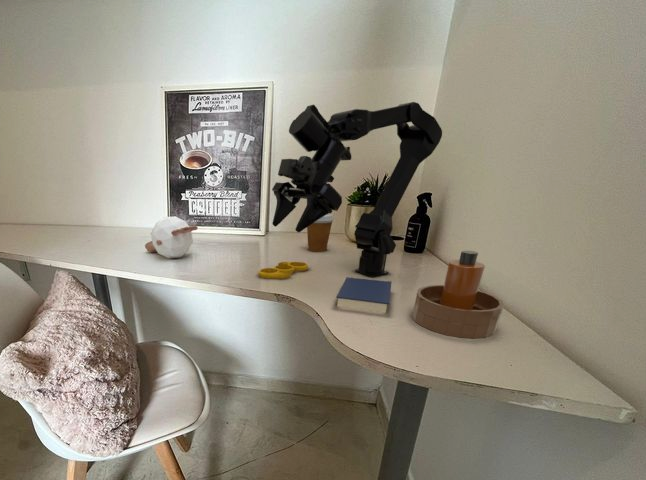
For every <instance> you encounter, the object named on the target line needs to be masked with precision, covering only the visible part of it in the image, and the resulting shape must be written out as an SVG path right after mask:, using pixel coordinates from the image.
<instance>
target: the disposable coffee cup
mask: <svg viewBox="0 0 646 480" xmlns="http://www.w3.org/2000/svg"><path fill="white" fill-rule="evenodd" d="M333 222H334V216H333V214H332V213H329V214H327V215H325V216H323V217H322V218H320V219H318V220H317V221H315V222H314V223H312V224H311V225H309V226H308V227H307V228H306V233H307V234H306V235H307V249H308V251H310V252H314V253H316V252H318V253H319V252H326V251H327V250H328V243H329V240H330V234H331V230H332V225H333Z"/></svg>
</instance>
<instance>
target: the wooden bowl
mask: <svg viewBox="0 0 646 480" xmlns="http://www.w3.org/2000/svg"><path fill="white" fill-rule="evenodd" d="M443 287H444V284H432V285H431V284H430V285H425V286H421V287H420V288H418V289H417V290H416V295H415V301H414V306H413V309H412V310H413V311H412V315H411V317H412V319H413V321H414V322H415V323H416V324H417V325H418V324H419V326H421V327H422V328H425V329H427V330H429V331H430V332H431V331H432V332H434V333H437V334H441V335H444V336H450V337H453V338H454V337H455V338H461V339H463V338H464V339H482V338H487V337H491V336H493V335H494V334H495V333H496V331H497V328H498V325H499V322H500V319H501V316H502V313H503V311H504V310H503V309H504V307H505V304H504V302H503V300H502V299H500V298H499V297H497V296H496V295H493V294H491V293H489V292H486V291H483V290H479V289H478V292H477V296H476V299H475V303H474V307H473V310H465V309H459V308H452V307H448V306H444V305H440V299H441V295H442V291H443Z"/></svg>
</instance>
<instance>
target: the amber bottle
mask: <svg viewBox="0 0 646 480" xmlns="http://www.w3.org/2000/svg"><path fill="white" fill-rule="evenodd" d="M478 256H479V252H478V251H474V250H462V251H460V257H459V259H453V260H449V262H448V266H447V270H446V274H445V279H444V282H443V285H444V287H443V291H442V295H441V299H440V305H444V306H448V307H452V308H459V309H465V310H473V307H474V303H475V299H476V296H477V292H478V290H479V288H480V285H481V281H482V279H483V275H484V271H485V267H486V266H485V264H484V263H483V262H482V263H481V262H479V261H477V259H478Z"/></svg>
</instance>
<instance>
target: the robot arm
mask: <svg viewBox="0 0 646 480" xmlns="http://www.w3.org/2000/svg"><path fill="white" fill-rule="evenodd" d="M408 123H411V124H412V125H409V124H408ZM395 125H396V135H397V137H398V138H399V140H400V143H399V159H398V161H397V163H396V165H395V167H394V169H393V171H392V173H391V175H390V177H389V178H388V181H387V182H386V184H385V186H384V188H383V190H382V192H381V194H380V196H379V198H378V200H377V202H376V204H375V206H374V208H373V209H372V210H371V211H370V212H363V213H362V214H361V215H360V217H359V219H358V222H357V224H356V225H355V226H354V228H355V230H354V233H353V234H354V239H355V245H356V249H359V250H361V253H360V257H359V263H358V268H355V269H354V271H355V272H356V273H360V274H362V275H365V276H368V277H371V278H373V277H378V276H384V275H388V274H389V273H390V271H388V270H386V263H387V256H388V255H391V254H393V253H394V252H395V249H396V247H397V243H396V242H395V241H394V239H393V238H392V236H391V234H392V231H393V216H394V214H395V212H396V210H397V208H398V206H399V204H400V202H401V200H402V198H403V196H404V195H405V194H406V193H405V192H406V191H407V188H408V186H409V185H410V183H411V181H412V179H413V177H414V175H415V173H416V171H417V169H418V167H419V166H420V164H421V163H423V161H425V160H426V159H427V158H428V157H430V156H431V155H432V154H433V153H434V151H435V149H436V148H437V147H438V145H439V144H440V142H441V140H442V137H443V130H442V127H441V126H440V124H439V122H438V121H437V119H436V118H435V117H434V116H433V115H431V114H430V113H429V112H428V111H425V110H424V109H423V108H422V106H421V104H420V103H419V102H416V101H411V102H406V103H401V104H398V105H396V106H392V107H387V108H382V109H377V110H368V109H360V108H355V109H350V110H345V111H340V112H336V113H334V114H332V115H330V117H329V120H328V121H327V120H326V119H325V117H324V116H323V115H322V114H321V113H320V111H319V109H318V108H317V106H316V104H310V105H307V106H306V108H305V109H304V110H303V111H302V112H300V113H299V114H298V115H297V117H296V118H295V119H293V120H292V121H291V123H290V125H289V128H288V133H289V134H290V135H291V136H292V138H294V140H295V141H296V142H297V143H298V144H299V145H300V146H301V148H303V149H304V150H305V151H306V152H307V153H311V152H314V153H313V155H312V157H310V156H307V155H301V156H299V158H298V159H297V158H296V159H295V158H281V160H280V164H279V168H278V172H277V176H279V177H284V178H288V179H291V180H290V182H289V181H281V180H280V181H276V182H275V183H274V185H273V187H272V189H271V190H272V192H273V195H274V196H275V199H276V207H275V211H274V215H273V219H272V225H273V226H274V227H278V226H279V225H280V224H281V223H282V222H283V221H284V220H285V219H286V218H287V217H288V216H289V215H290V214H291V212H293V211H294V210H295V209H296V207H297V206H296V205H297V204H298V203H300V200H301V199H303V200H304V199H305V200H306V206H305V208H304V210H303V212H302V214H301V216H300V218H299V220H298V222H297V224H296V227H295V229H294V230H295V232H297V233H301V232H303V231H304V230H305V229H307V227H308V226H309V225H311V224H312V223H314V222H315V221H317V220H318V219H320V218H322V217H323V216H325V215H327V214H332V213H333V211H336V212H337V211H338V210H339V209H340V207H341V206H342V204H343V197H342V195H341V194H340V193H339V192H338V191H337V190H336V188H334V186H332V184H330V183H333V181H334V180H335V177H334V176H333V174H334V172H335V171H336V169H337V167H338V166H339V164H340V162H341V161H351V160H352V153H351V147H350V146H345V145H344V143H343V142H350V141H357V140H359V139H361V138H363V137H365V136H367V135H368V134H370V132H373V131H374V130H378V129H383V128H387V127H391V126H395Z"/></svg>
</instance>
